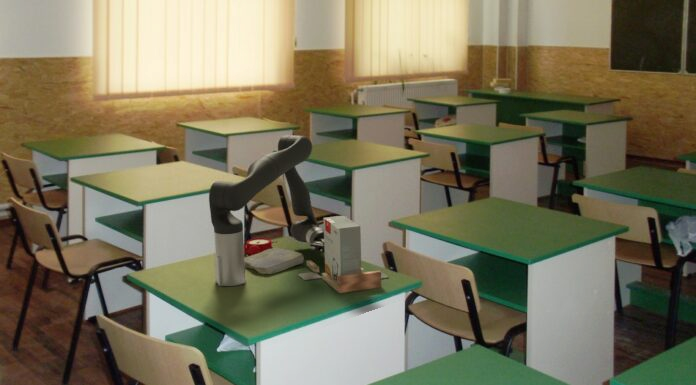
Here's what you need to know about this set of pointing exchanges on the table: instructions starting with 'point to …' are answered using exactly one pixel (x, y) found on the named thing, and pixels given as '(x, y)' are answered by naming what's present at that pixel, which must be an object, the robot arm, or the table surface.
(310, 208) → the robot arm
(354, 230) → the hard drive box
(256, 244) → the alarm clock
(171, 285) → the table surface
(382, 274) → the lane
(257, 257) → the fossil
